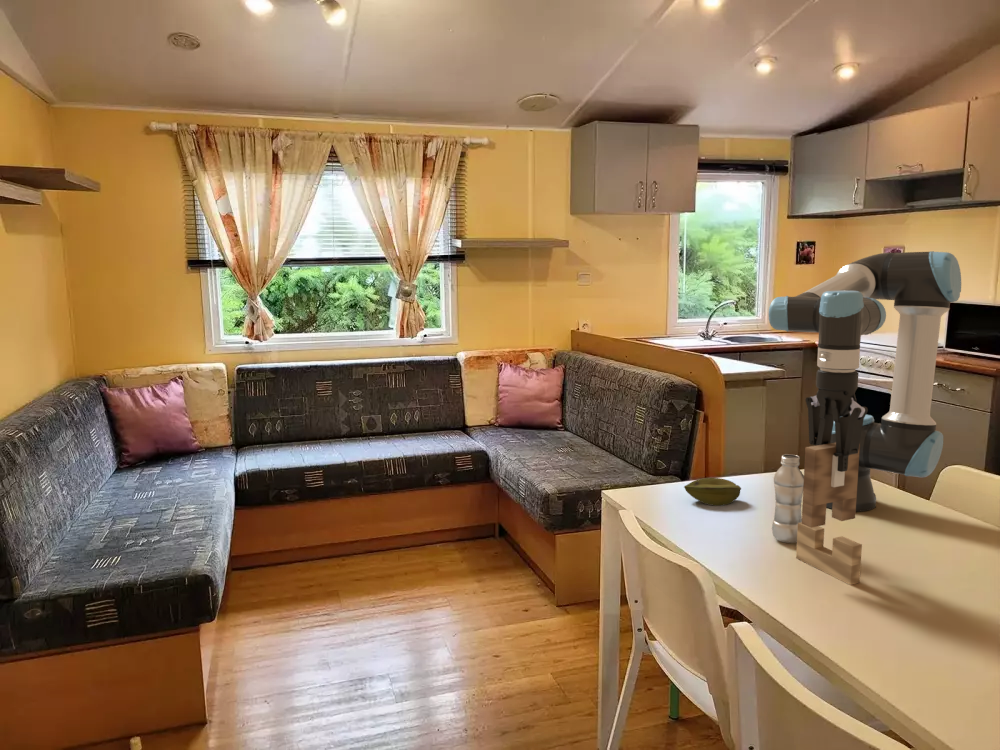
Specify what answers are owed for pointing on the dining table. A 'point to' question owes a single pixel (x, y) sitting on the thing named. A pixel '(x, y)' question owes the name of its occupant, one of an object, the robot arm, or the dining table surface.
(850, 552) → the oak slot board
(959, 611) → the dining table surface
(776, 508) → the plastic bottle
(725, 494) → the fruit
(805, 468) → the wooden flat notched block
